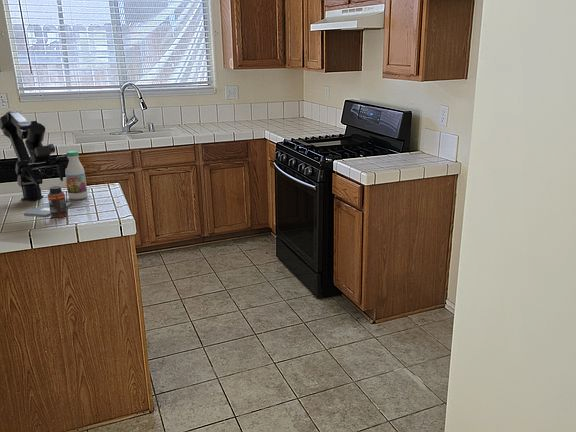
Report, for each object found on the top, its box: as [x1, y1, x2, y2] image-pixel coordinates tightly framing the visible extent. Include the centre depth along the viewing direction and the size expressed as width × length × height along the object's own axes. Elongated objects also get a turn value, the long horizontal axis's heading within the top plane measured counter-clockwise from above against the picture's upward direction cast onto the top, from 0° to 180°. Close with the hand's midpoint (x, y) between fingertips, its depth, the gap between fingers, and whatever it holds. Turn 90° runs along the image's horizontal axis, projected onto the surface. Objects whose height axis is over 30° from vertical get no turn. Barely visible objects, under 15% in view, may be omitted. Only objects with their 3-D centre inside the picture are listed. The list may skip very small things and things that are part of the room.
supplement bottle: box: [47, 185, 68, 219], centre depth 193 cm, size 6×6×11 cm
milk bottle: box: [64, 150, 88, 200], centre depth 217 cm, size 8×8×20 cm
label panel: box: [23, 202, 73, 218], centre depth 202 cm, size 10×16×1 cm, turn 167°
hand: (50, 182), depth 195 cm, fingers open, 9 cm apart
